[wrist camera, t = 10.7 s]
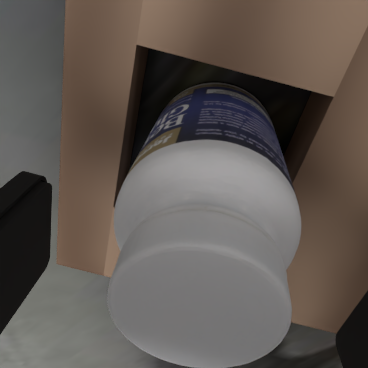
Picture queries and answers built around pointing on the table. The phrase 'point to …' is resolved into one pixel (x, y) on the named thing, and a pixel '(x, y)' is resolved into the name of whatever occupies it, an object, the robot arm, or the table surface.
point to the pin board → (242, 62)
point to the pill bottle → (206, 234)
